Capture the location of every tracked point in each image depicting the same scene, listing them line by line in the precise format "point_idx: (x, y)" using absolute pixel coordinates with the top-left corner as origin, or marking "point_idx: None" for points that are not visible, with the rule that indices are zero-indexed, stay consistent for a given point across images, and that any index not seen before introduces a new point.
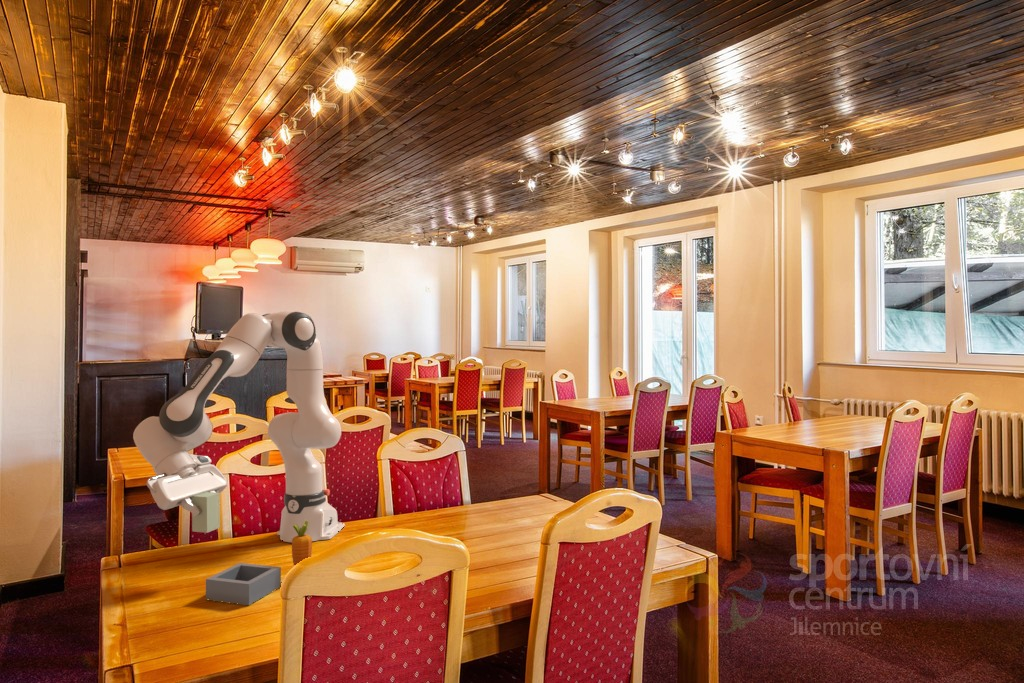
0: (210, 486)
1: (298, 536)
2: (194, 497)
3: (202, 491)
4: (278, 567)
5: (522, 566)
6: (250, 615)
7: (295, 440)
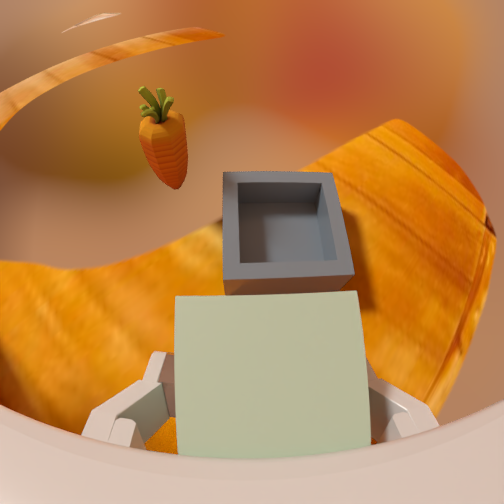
0: (96, 466)
1: (167, 120)
2: (364, 433)
3: (251, 461)
4: (226, 174)
5: (112, 46)
6: (346, 177)
7: None
